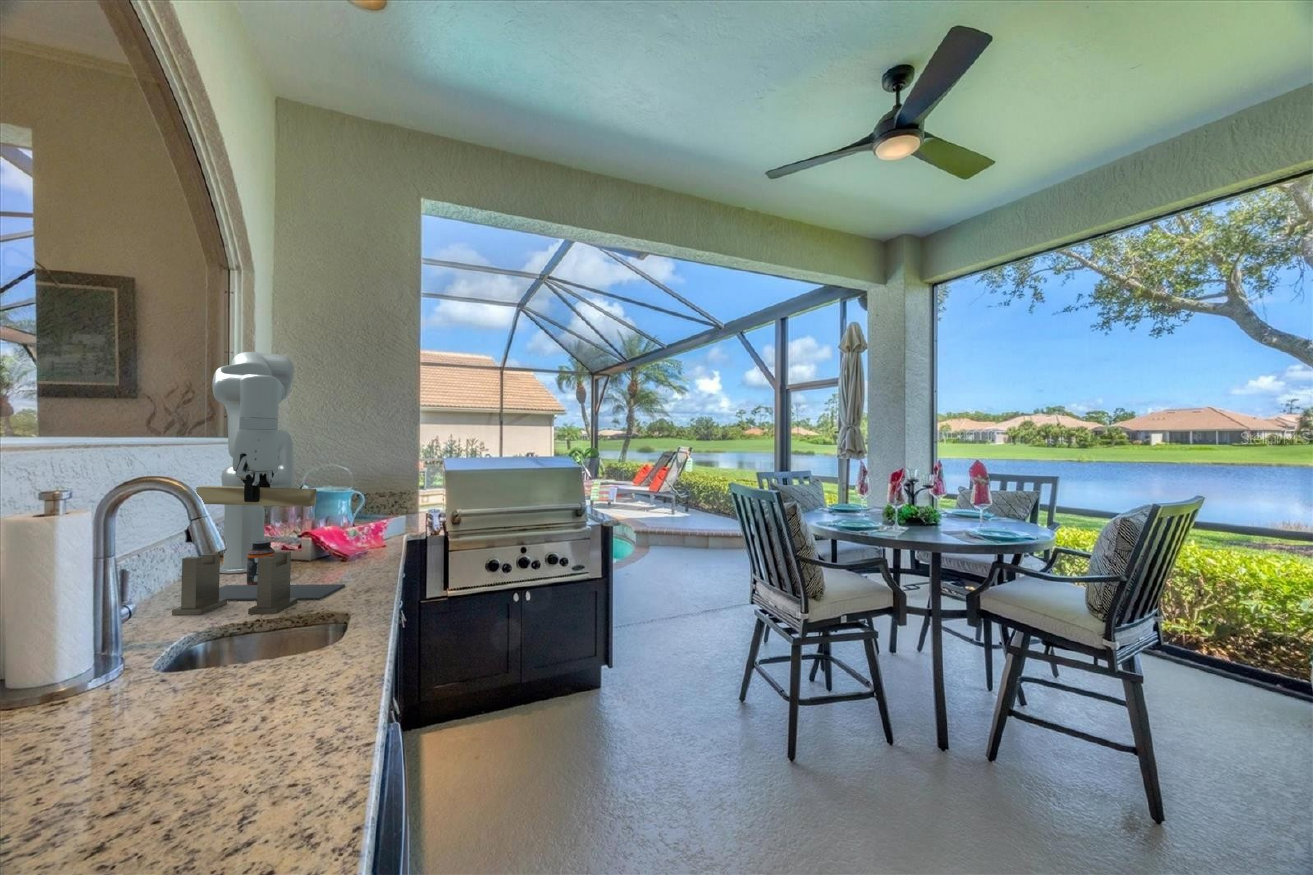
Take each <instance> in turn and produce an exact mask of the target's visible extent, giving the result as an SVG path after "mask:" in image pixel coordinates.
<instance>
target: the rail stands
mask: <svg viewBox="0 0 1313 875" xmlns="http://www.w3.org/2000/svg"><path fill="white" fill-rule="evenodd" d="M291 563H292V552H291V551H276V552H275V553H274V557H260V558H258V576H257V601H256V604H255V605H254V606H252V607H249V608H248V609H247V615H277V614H280V613H281V612H283V611H285V610H286V609H289V608H291V607H293V606H295V605H297V604H298V601H299V600H298V598H290V585H291V572H292V571H291V568H292V566H291V565H292V564H291ZM220 566H221V553H220V554H216V555H202V554H201V556H186V557H182V558H181V590H180V591H181V592H180V595H181V596H180V606H178V607H175V608H173V609H171V616H201V615H203V614H206V613H209V612H210V611H213V610H215V609H218V608H220V607H223V606H224V605H223V604H225V605H228V601H227V599H219V588H220V577H221V576H220V574H221V573H220ZM294 604H295V605H294ZM222 605H223V606H222ZM212 609H213V610H212ZM284 609H285V610H284ZM197 614H198V615H197Z"/></svg>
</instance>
